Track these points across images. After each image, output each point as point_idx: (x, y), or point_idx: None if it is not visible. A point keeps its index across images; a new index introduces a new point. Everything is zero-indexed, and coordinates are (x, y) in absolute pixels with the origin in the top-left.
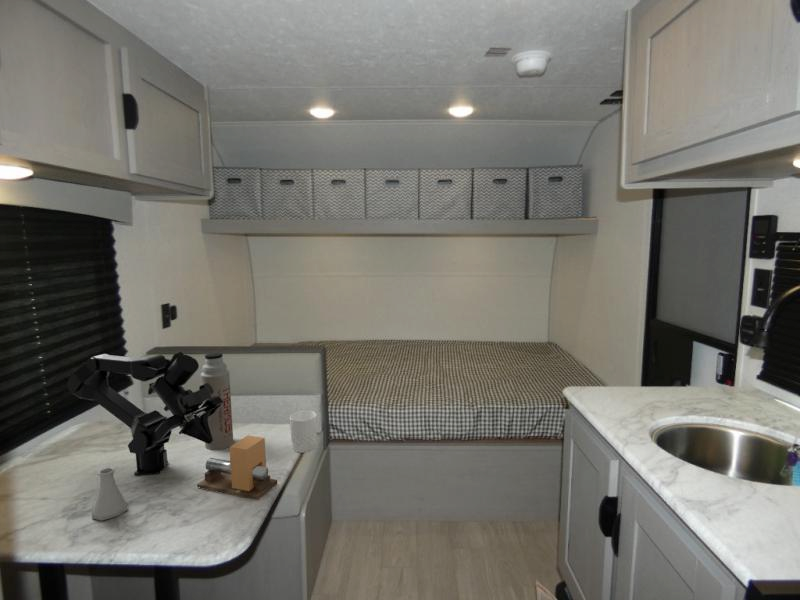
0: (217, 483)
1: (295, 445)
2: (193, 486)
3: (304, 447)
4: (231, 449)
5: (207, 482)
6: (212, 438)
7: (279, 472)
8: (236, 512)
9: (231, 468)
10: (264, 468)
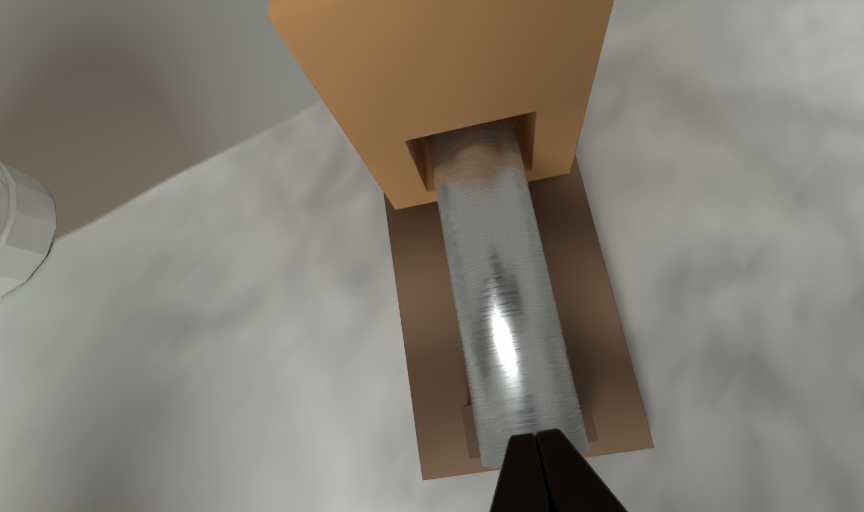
0: (567, 318)
1: (14, 227)
2: (648, 489)
3: (21, 178)
4: None
5: (595, 394)
6: (508, 453)
7: (276, 149)
8: (675, 33)
9: (585, 94)
10: None
